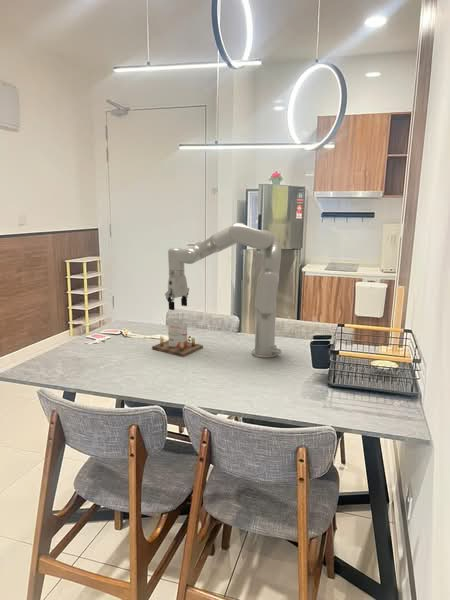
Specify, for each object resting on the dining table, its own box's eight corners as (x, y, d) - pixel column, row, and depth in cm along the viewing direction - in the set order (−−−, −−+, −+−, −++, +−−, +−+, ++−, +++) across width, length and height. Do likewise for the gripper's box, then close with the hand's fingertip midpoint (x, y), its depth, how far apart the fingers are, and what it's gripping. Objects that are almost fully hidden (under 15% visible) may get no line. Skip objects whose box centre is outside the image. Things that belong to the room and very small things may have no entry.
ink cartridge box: (187, 345, 216) (187, 317, 213) (183, 348, 211) (183, 319, 208) (172, 343, 219) (172, 315, 216) (168, 346, 214) (167, 318, 211)
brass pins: (195, 345, 215) (195, 338, 215) (182, 351, 207) (182, 343, 206) (173, 340, 223) (173, 333, 222) (159, 346, 215) (159, 338, 214)
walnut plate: (203, 348, 216) (203, 345, 216) (183, 356, 203) (183, 353, 203) (172, 341, 227) (172, 338, 227) (152, 349, 214) (152, 346, 214)
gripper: (171, 276, 198) (172, 312, 202) (193, 271, 212) (194, 305, 216) (159, 275, 202) (160, 310, 206) (181, 270, 216) (183, 303, 220)
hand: (178, 307), depth 211 cm, fingers open, 9 cm apart
